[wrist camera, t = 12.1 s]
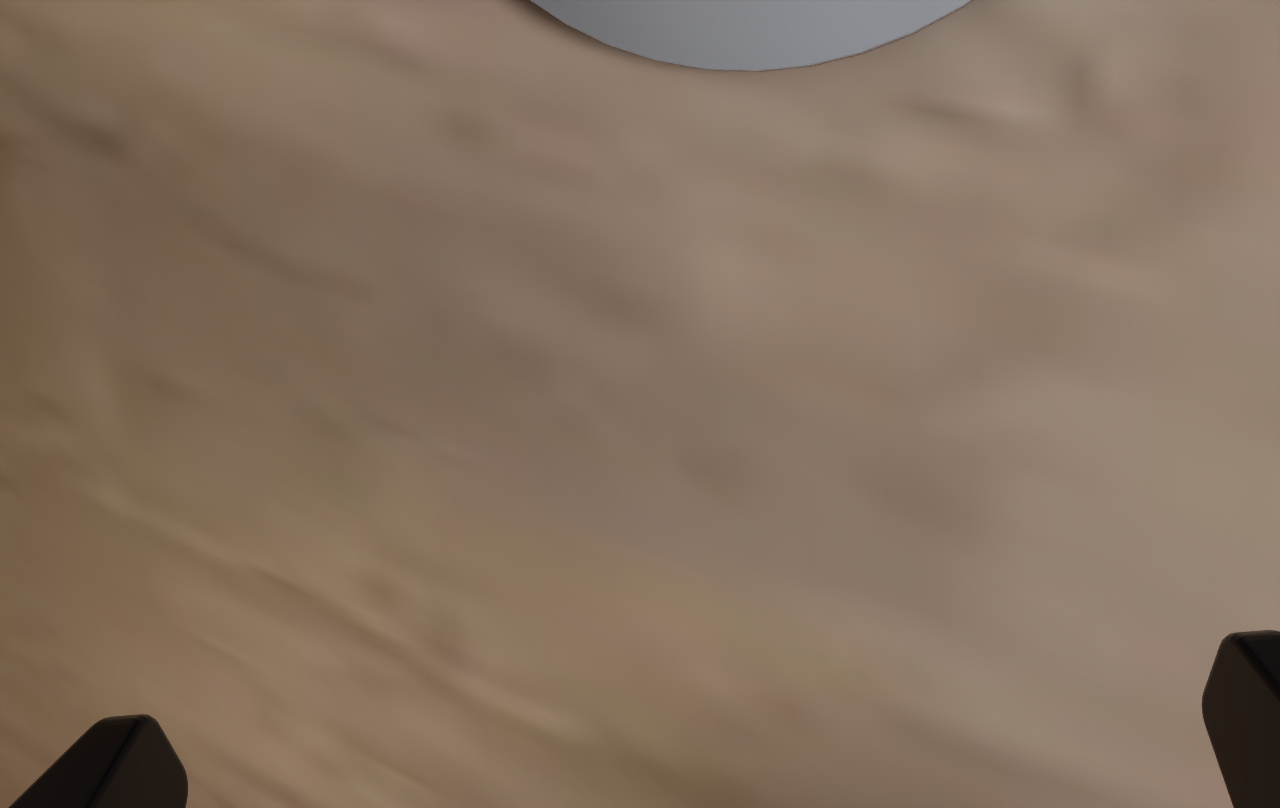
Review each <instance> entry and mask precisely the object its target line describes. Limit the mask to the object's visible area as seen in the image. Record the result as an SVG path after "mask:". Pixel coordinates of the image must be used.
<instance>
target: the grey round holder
mask: <svg viewBox="0 0 1280 808" xmlns="http://www.w3.org/2000/svg"><path fill="white" fill-rule="evenodd" d="M531 1H532V2H534V3H535V4H537V5H538V6H539V7H541V8H542V9H544V10H545V11H547V12H548V13H550V14H551V15H553V16H554V17H556V18H557V19H559V20H560V21H562V22H563V23H564V24H566V25H568V26H570V27H572V28H575V29H577V30H579V31H581V32H583V33H585V34H587V35H589V36H591V37H593V38H595V39H597V40H599V41H601V42H603V43H605V44H607V45H610V46H613V47H616V48H619V49H622V50H625V51H628V52H631V53H634V54H637V55H640V56H643V57H646V58H649V59H652V60H656V61H662V62H668V63H674V64H679V65H685V66H691V67H696V68H702V69H708V70H722V71H753V72H764V71H774V70H783V69H793V68H802V67H811V66H816V65H820V64H824V63H828V62H832V61H836V60H840V59H844V58H848V57H853V56H857V55H861V54H864V53H867V52H869V51H872V50H874V49H877V48H880V47H882V46H885V45H887V44H890V43H892V42H895V41H898V40H900V39H903V38H905V37H908V36H911V35H913V34H915V33H917V32H919V31H921V30H923V29H924V28H926V27H928V26H930V25H932V24H934V23H936V22H937V21H939V20H941V19H943V18H945V17H947V16H949V15H950V14H952V13H954V12H956V11H958V10H960V9H962V8H963V7H965V6H966V5H968V4H969V3H971V2H972V1H973V0H531Z"/></svg>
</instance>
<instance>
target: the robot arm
mask: <svg viewBox="0 0 1280 808" xmlns="http://www.w3.org/2000/svg"><path fill="white" fill-rule="evenodd" d="M1202 713H1203V718H1204V723H1205V726H1206V729H1207V732H1208V735H1209V738H1210V741H1211V744H1212V746H1213V749H1214V752H1215V755H1216V758H1217V761H1218V764H1219V767H1220V770H1221V772H1222V775H1223V778H1224V781H1225V784H1226V787H1227V790H1228V793H1229V796H1230V798H1231V801H1232V804H1233V807H1234V808H1280V632H1279V631H1274V630H1263V631H1250V632H1236V633H1231V634H1229V635H1228V636H1226V637H1225V638H1224V639H1223V640H1222V642H1221V644H1220V646H1219V649H1218V652H1217V655H1216V658H1215V661H1214V664H1213V666H1212V669H1211V672H1210V675H1209V678H1208V681H1207V684H1206V686H1205V689H1204V692H1203V697H1202ZM187 796H188V781H187V775H186V771H185V769H184V766H183V765H182V763H181V761H180V759H179V758H178V756H177V754H176V752H175V751H174V749H173V747H172V746H171V744H170V742H169V740H168V739H167V737H166V735H165V733H164V732H163V730H162V728H161V727H160V725H159V723H158V722H157V721H156V719H154V718H153V717H151V716H149V715H144V714H141V715H127V716H114V717H108V718H104V719H102V720H100V721H98V722H97V723H95V724H94V725H93V726H92V727H90V728H89V729H88V730H87V731H86V732H85V733H84V734H83V735H82V736H81V737H80V738H79V739H78V740H77V741H76V742H75V743H74V744H73V745H72V746H71V747H70V748H69V749H68V750H67V751H66V752H65V753H64V754H63V755H62V756H61V757H60V758H59V759H58V760H57V761H56V762H55V763H54V764H53V765H52V766H51V767H50V768H48V769H47V770H46V771H45V772H44V773H43V774H42V775H41V776H40V777H39V778H38V779H37V780H36V781H35V782H34V783H33V784H32V785H31V786H30V787H29V788H28V789H27V790H26V791H25V792H24V793H23V794H22V795H21V796H20V797H19V798H18V799H17V800H16V801H15V802H14V803H13V804H12V805H11V806H10V807H9V808H186V803H187Z"/></svg>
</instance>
